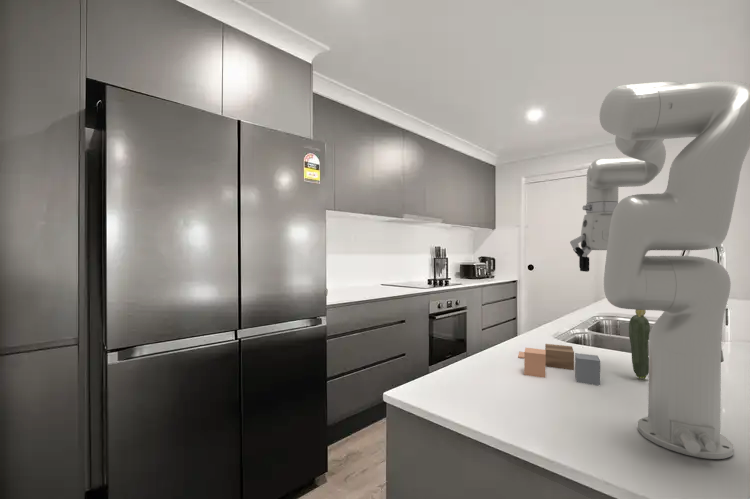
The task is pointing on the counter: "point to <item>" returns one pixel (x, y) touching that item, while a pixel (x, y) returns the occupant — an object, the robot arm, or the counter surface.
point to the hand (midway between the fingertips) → (601, 271)
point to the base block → (559, 356)
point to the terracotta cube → (534, 362)
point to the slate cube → (587, 369)
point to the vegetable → (639, 343)
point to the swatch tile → (521, 355)
